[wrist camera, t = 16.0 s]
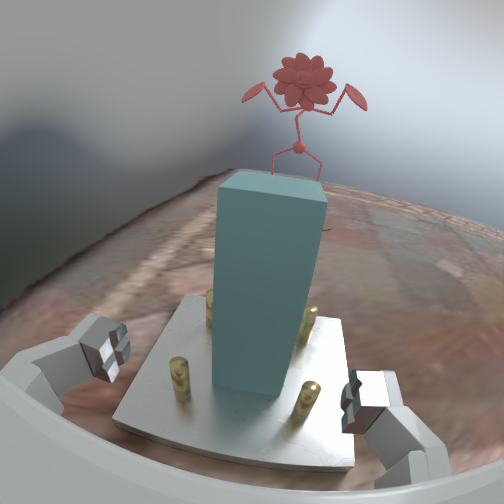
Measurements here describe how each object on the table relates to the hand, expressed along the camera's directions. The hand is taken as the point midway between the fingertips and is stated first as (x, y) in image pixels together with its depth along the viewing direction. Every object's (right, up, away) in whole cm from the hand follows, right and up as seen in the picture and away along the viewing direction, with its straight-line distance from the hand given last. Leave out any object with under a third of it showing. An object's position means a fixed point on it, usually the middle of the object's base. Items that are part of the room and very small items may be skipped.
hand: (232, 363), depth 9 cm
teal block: (+1, -5, +12) cm, 13 cm away
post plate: (0, -6, +12) cm, 14 cm away
